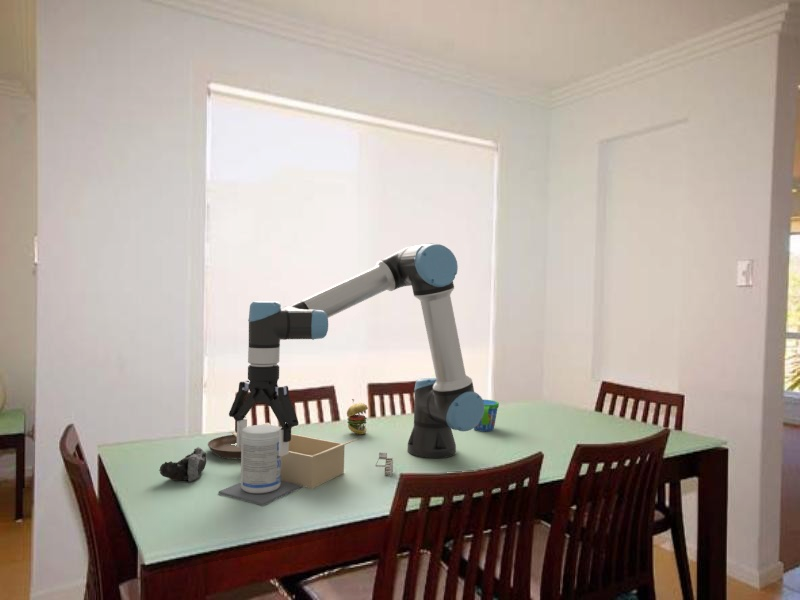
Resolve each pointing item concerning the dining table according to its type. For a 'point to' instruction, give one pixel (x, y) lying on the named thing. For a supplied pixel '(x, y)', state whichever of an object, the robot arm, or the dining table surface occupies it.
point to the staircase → (384, 457)
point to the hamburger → (357, 418)
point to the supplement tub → (260, 459)
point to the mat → (261, 498)
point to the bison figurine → (185, 467)
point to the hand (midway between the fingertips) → (262, 450)
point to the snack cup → (488, 416)
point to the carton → (311, 460)
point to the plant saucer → (225, 447)
